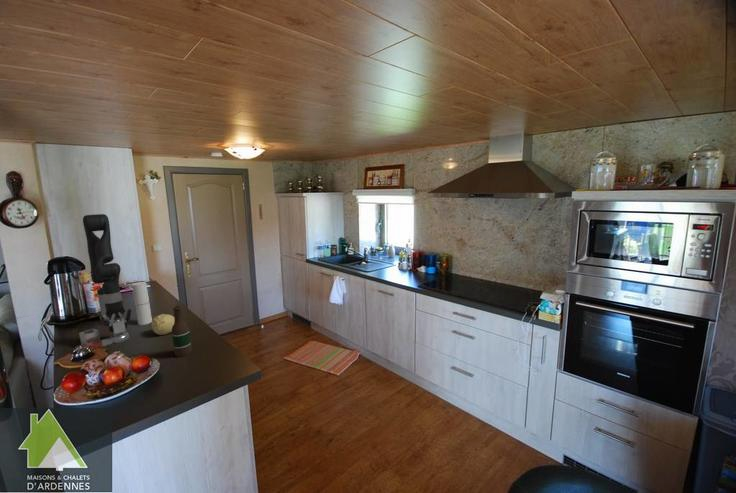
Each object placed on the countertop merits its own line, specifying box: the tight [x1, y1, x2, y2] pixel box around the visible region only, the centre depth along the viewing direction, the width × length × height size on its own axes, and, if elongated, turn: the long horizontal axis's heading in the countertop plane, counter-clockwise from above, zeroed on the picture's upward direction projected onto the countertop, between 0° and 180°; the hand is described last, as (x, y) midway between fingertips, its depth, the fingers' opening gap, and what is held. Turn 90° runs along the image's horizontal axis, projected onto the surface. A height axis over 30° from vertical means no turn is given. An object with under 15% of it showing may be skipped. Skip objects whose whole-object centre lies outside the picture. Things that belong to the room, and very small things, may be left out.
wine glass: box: [75, 331, 130, 350], centre depth 175 cm, size 8×22×7 cm, turn 140°
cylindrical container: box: [131, 281, 153, 326], centre depth 202 cm, size 7×7×25 cm
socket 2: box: [112, 318, 127, 334], centre depth 179 cm, size 5×5×7 cm
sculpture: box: [151, 313, 175, 336], centre depth 188 cm, size 12×12×11 cm
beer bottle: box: [171, 305, 193, 358], centre depth 161 cm, size 8×8×24 cm
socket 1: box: [78, 328, 101, 346], centre depth 177 cm, size 6×6×8 cm
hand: (118, 330), depth 179 cm, fingers closed on socket 2, 5 cm apart
